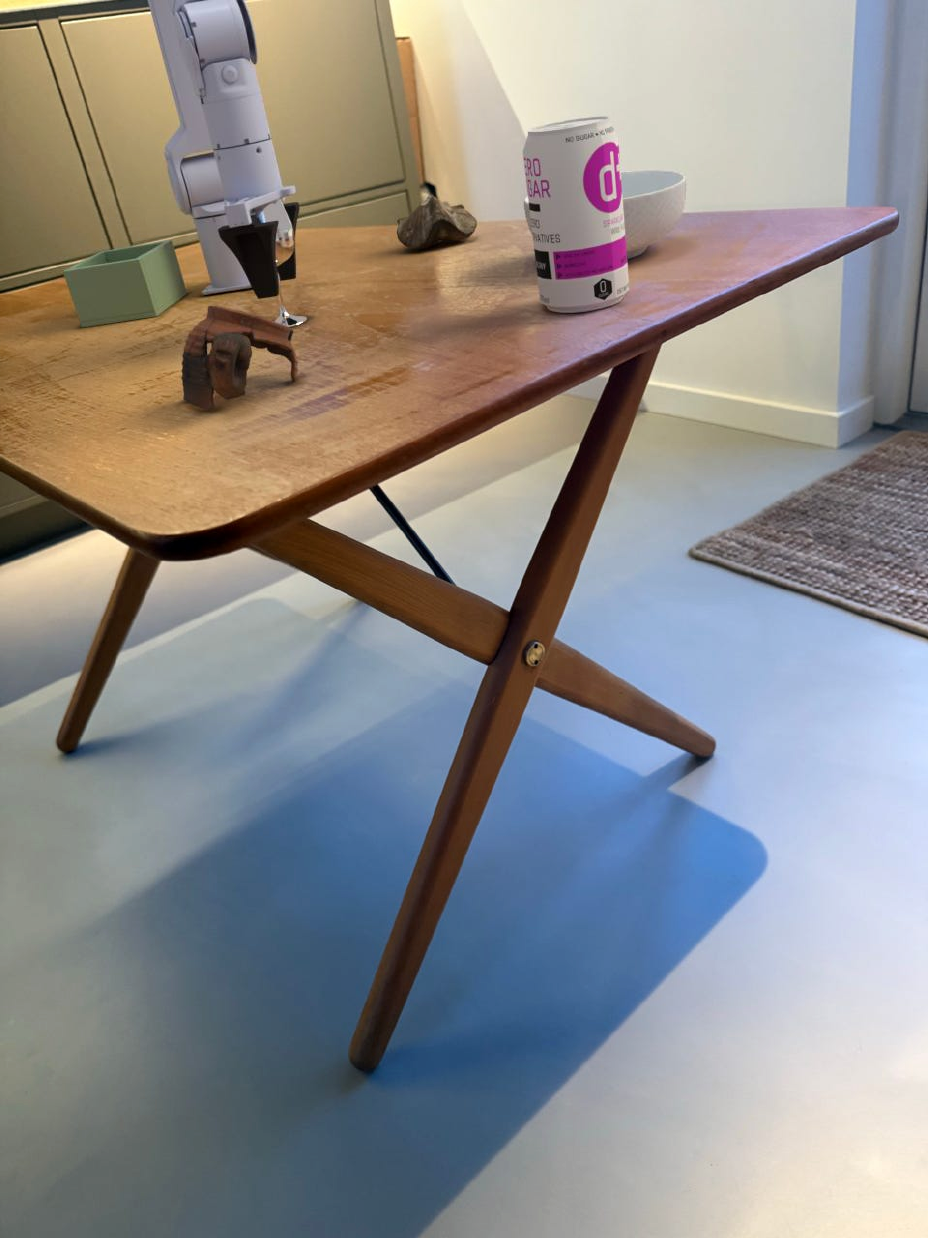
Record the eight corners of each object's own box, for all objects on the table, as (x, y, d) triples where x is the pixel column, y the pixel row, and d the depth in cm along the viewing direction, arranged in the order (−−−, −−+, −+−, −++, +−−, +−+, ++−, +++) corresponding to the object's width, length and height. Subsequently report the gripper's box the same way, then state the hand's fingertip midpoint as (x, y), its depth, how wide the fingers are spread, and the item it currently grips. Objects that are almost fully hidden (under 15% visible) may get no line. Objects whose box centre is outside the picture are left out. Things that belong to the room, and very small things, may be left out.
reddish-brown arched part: (179, 397, 89) (199, 303, 87) (286, 425, 91) (307, 333, 89) (162, 400, 77) (185, 291, 76) (285, 432, 79) (309, 326, 78)
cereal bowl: (501, 276, 108) (492, 206, 104) (577, 239, 119) (571, 175, 116) (646, 274, 99) (641, 197, 95) (713, 234, 110) (711, 164, 106)
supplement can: (647, 291, 93) (635, 111, 85) (593, 317, 88) (576, 129, 81) (577, 288, 98) (560, 119, 91) (523, 312, 93) (500, 135, 86)
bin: (117, 303, 131) (100, 251, 127) (187, 293, 129) (172, 239, 126) (81, 327, 121) (62, 271, 118) (156, 316, 119) (139, 259, 116)
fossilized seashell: (476, 212, 133) (405, 237, 135) (461, 171, 127) (387, 197, 129) (484, 251, 129) (411, 276, 131) (468, 210, 124) (392, 237, 126)
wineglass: (302, 327, 102) (272, 202, 96) (250, 333, 104) (218, 210, 98) (320, 312, 107) (293, 192, 101) (270, 318, 108) (241, 200, 102)
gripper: (263, 145, 90) (299, 299, 97) (298, 129, 102) (328, 266, 109) (188, 158, 91) (229, 309, 98) (232, 141, 103) (266, 276, 110)
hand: (277, 287), depth 103 cm, fingers open, 7 cm apart
